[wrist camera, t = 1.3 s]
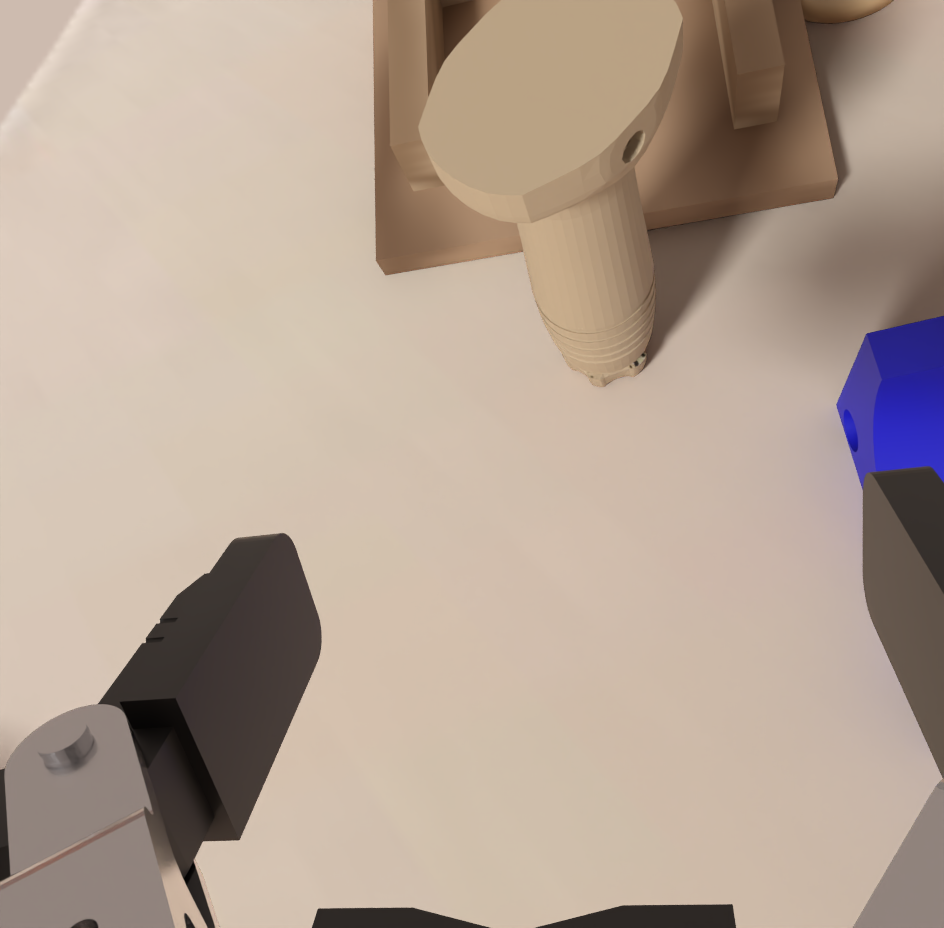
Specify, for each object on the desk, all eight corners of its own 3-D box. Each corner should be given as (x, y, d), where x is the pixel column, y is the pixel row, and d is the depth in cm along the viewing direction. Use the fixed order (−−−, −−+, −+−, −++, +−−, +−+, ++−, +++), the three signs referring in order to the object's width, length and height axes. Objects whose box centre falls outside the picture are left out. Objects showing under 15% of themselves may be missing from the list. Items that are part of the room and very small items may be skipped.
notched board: (776, -78, 37) (785, -174, 33) (833, 197, 33) (852, 125, 29) (381, 16, 41) (348, -59, 37) (385, 275, 37) (349, 220, 33)
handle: (713, 323, 32) (728, 15, 19) (602, 450, 32) (532, 231, 18) (615, 258, 34) (560, -67, 20) (508, 377, 34) (379, 128, 20)
